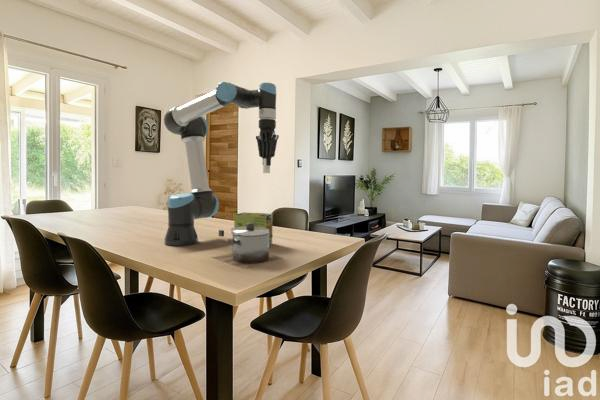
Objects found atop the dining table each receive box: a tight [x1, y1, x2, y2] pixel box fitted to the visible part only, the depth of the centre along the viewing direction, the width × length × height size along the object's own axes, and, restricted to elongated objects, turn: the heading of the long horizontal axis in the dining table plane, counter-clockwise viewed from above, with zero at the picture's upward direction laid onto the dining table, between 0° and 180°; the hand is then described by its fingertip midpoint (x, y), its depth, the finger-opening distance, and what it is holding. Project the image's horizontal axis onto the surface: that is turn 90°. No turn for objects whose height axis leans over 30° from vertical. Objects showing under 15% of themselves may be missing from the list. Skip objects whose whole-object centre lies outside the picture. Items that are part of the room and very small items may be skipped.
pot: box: [218, 226, 273, 264], centre depth 129 cm, size 16×19×11 cm
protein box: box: [233, 212, 274, 246], centre depth 153 cm, size 10×15×16 cm
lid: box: [230, 223, 269, 237], centre depth 128 cm, size 15×14×4 cm
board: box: [211, 252, 284, 269], centre depth 130 cm, size 20×20×1 cm
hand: (266, 173), depth 148 cm, fingers closed
